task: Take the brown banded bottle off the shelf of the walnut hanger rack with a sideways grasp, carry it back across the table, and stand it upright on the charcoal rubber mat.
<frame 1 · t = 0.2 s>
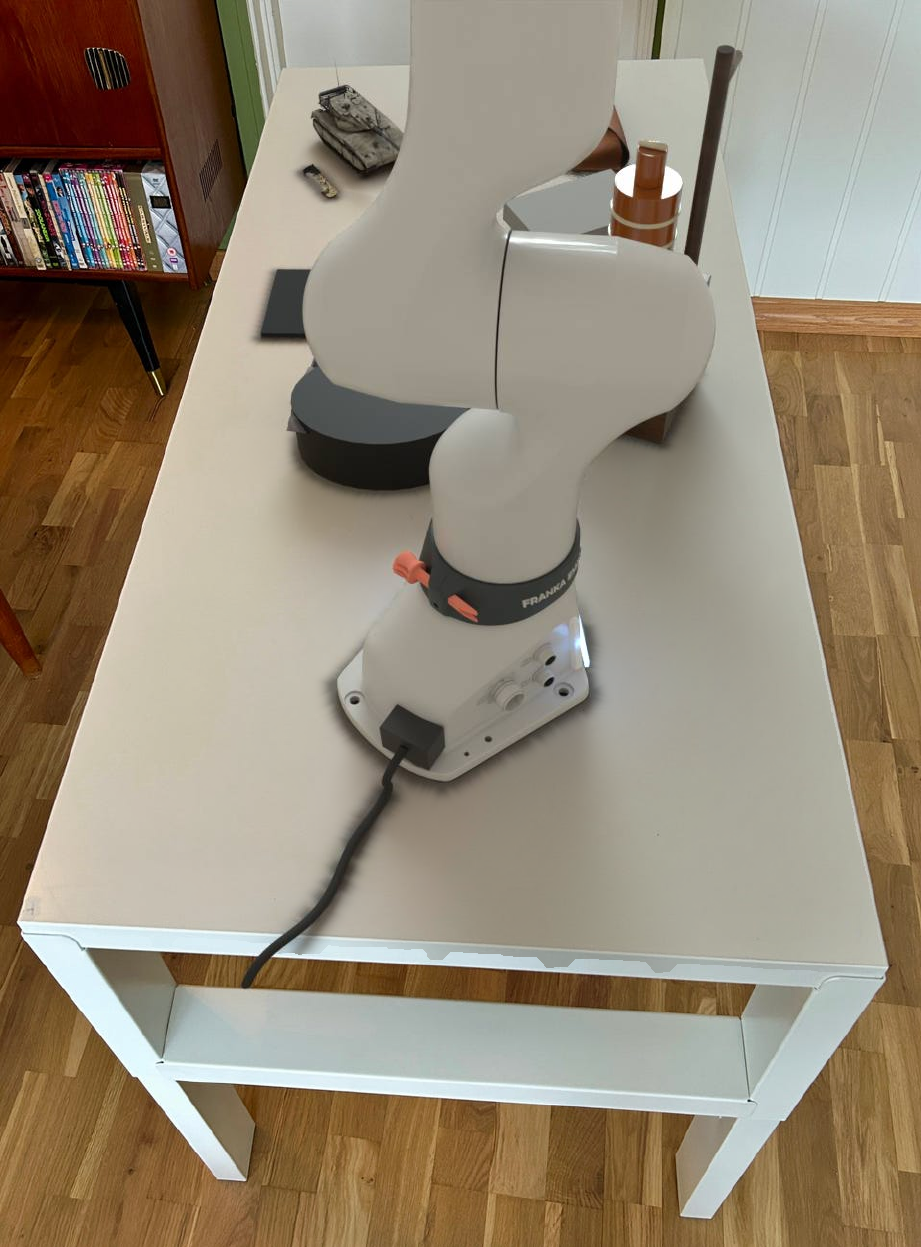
hanger rack: (622, 392, 113), on the table
grey rectangular block: (520, 237, 127), point 2 cm above the table
brown banded bottle: (634, 296, 103), point 12 cm above the table, touching hanger rack
sunglasses case: (586, 137, 144), on the table
rubber mat: (321, 304, 124), on the table
toy tank: (368, 154, 143), on the table
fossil: (300, 185, 139), on the table
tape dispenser: (386, 440, 110), on the table
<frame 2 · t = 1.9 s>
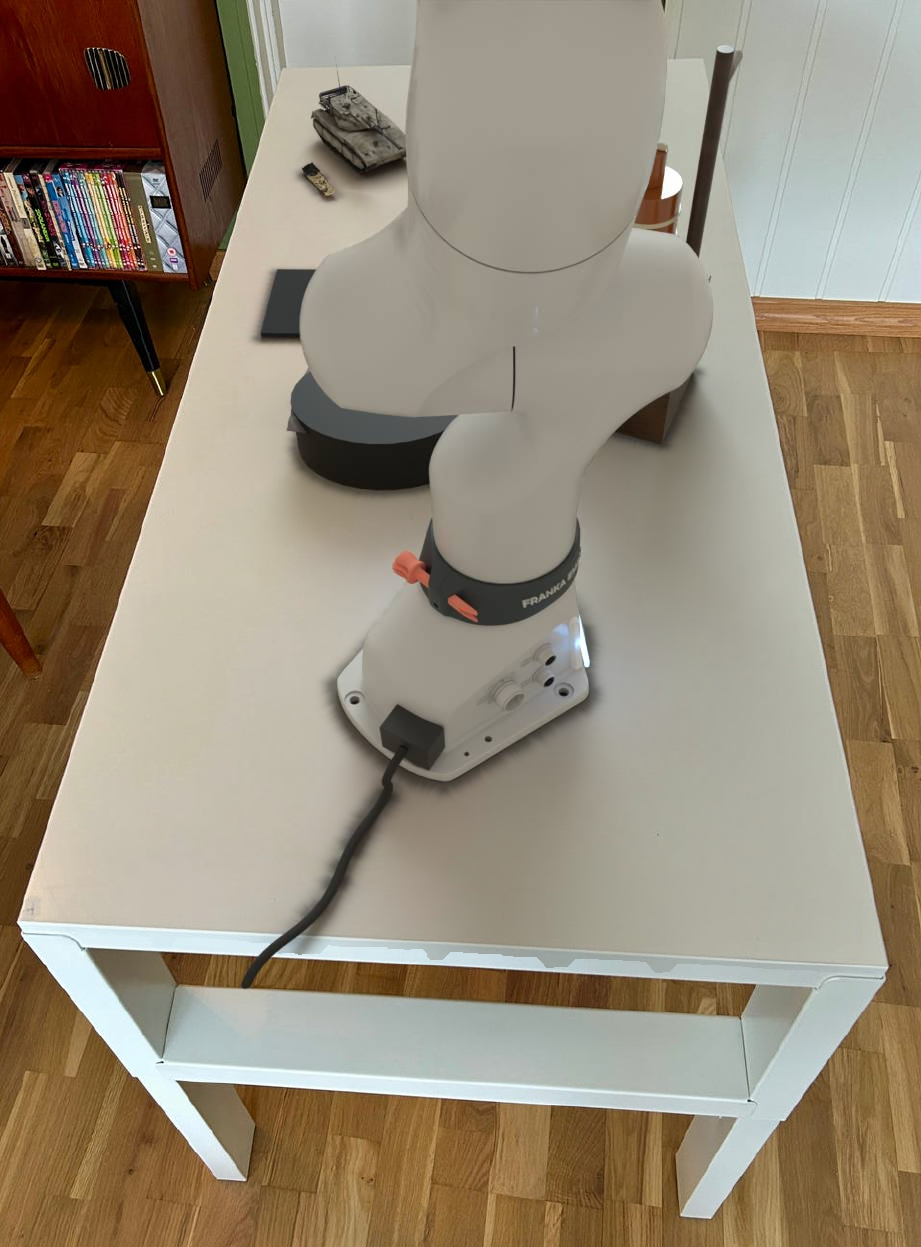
hand: (511, 77, 92), 31 cm above the table, tool pointing down, fingers open, 8 cm apart
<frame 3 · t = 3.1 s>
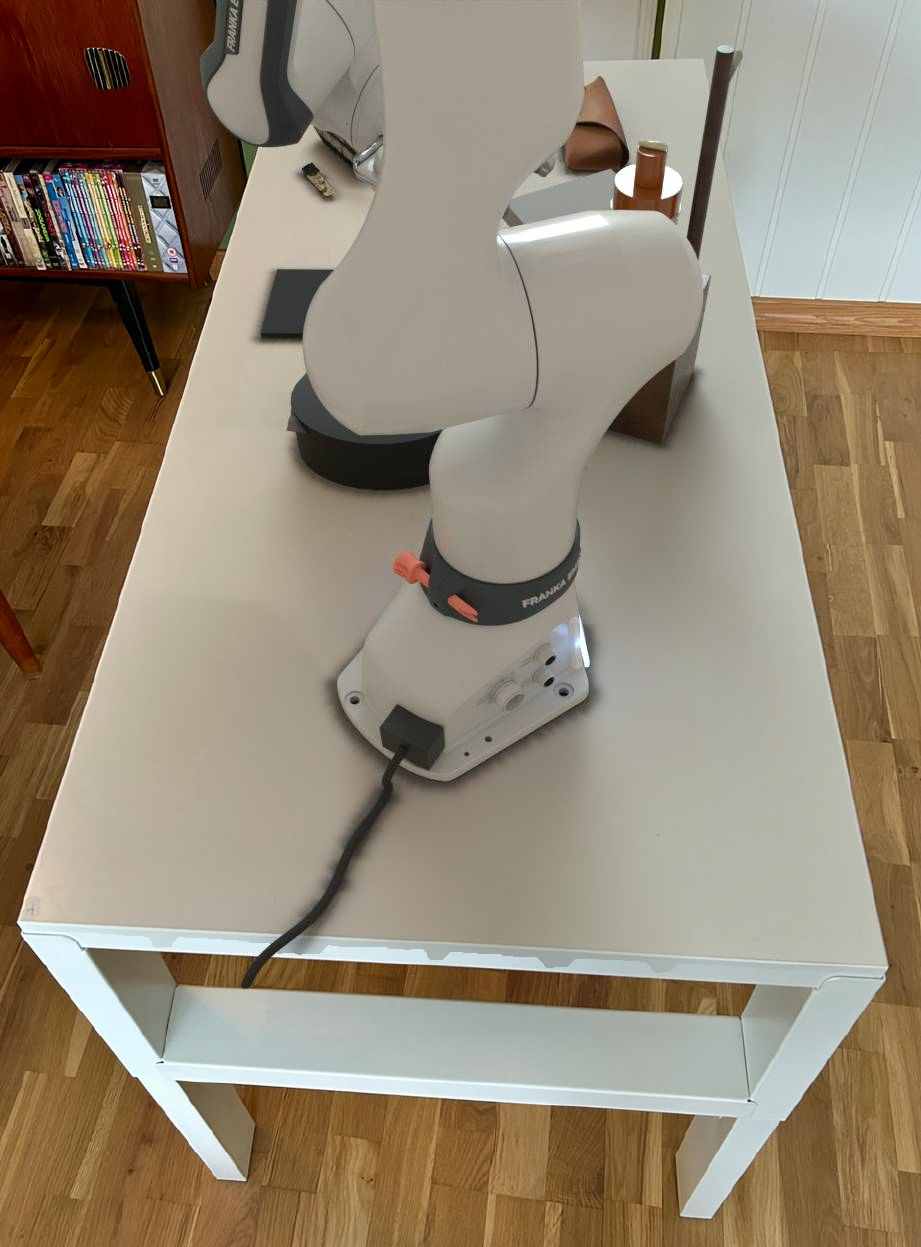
hand: (529, 189, 99), 21 cm above the table, tool horizontal, fingers open, 8 cm apart
nothing on the table moved.
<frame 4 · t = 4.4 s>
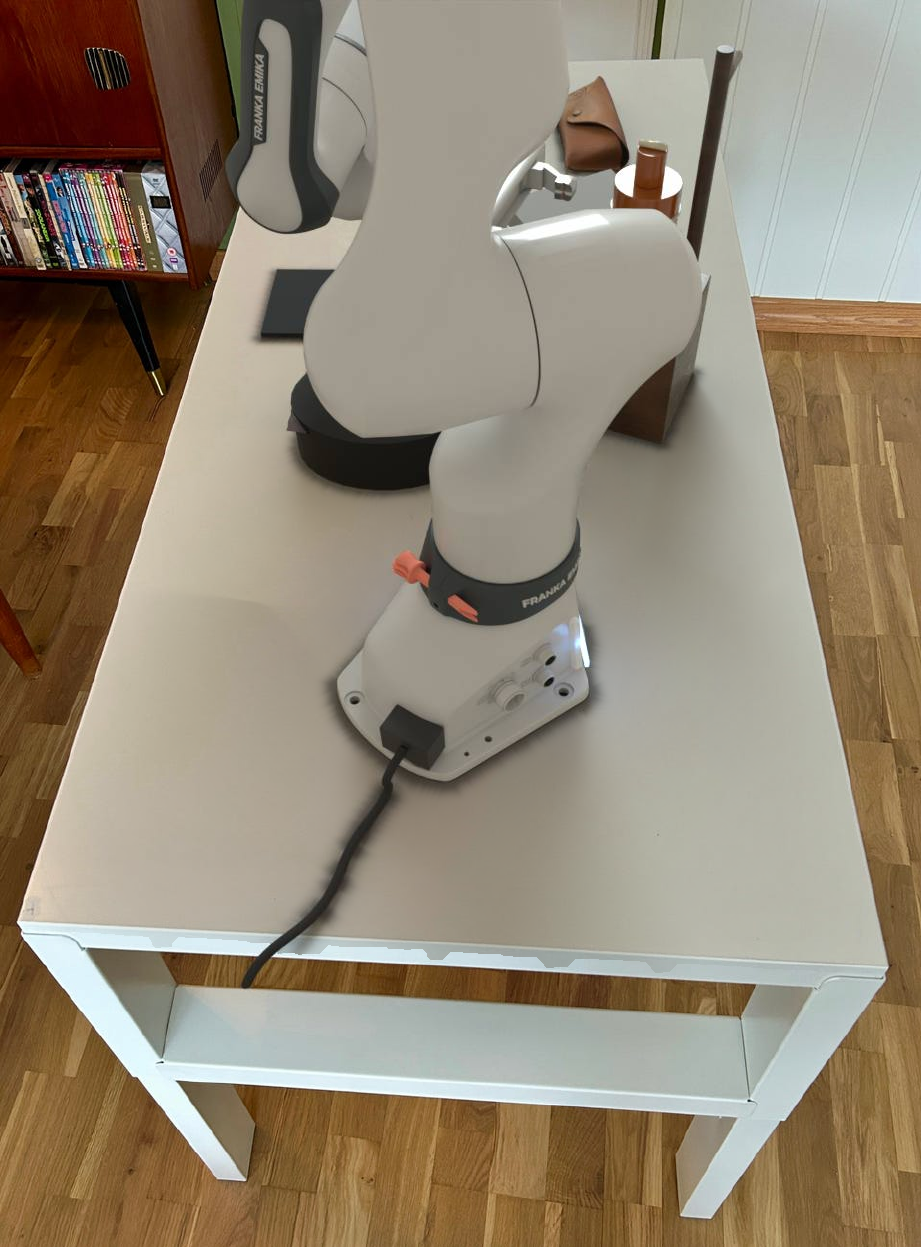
hand: (558, 215, 100), 19 cm above the table, tool horizontal, fingers open, 8 cm apart
nothing on the table moved.
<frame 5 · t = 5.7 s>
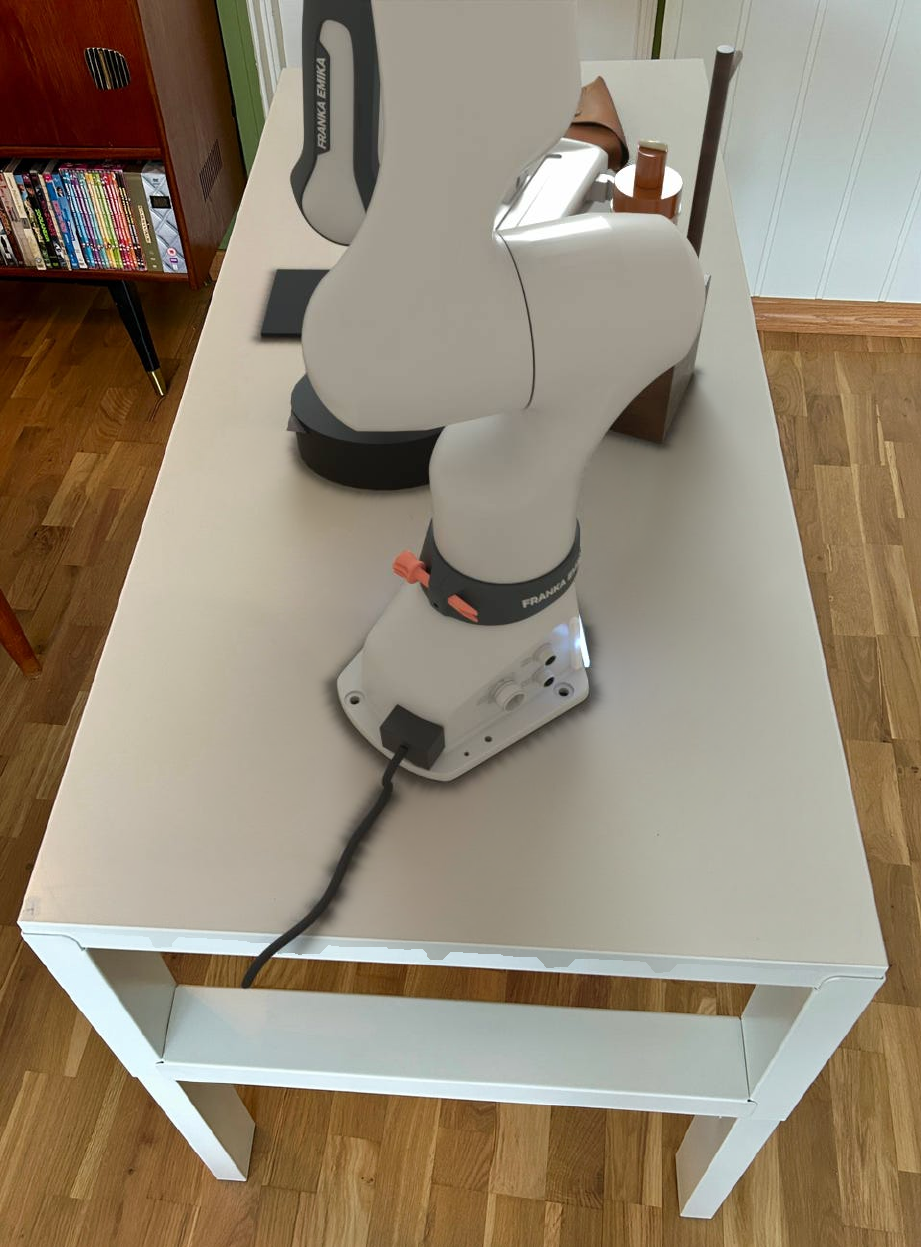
hand: (624, 229, 98), 19 cm above the table, tool horizontal, fingers open, 8 cm apart
nothing on the table moved.
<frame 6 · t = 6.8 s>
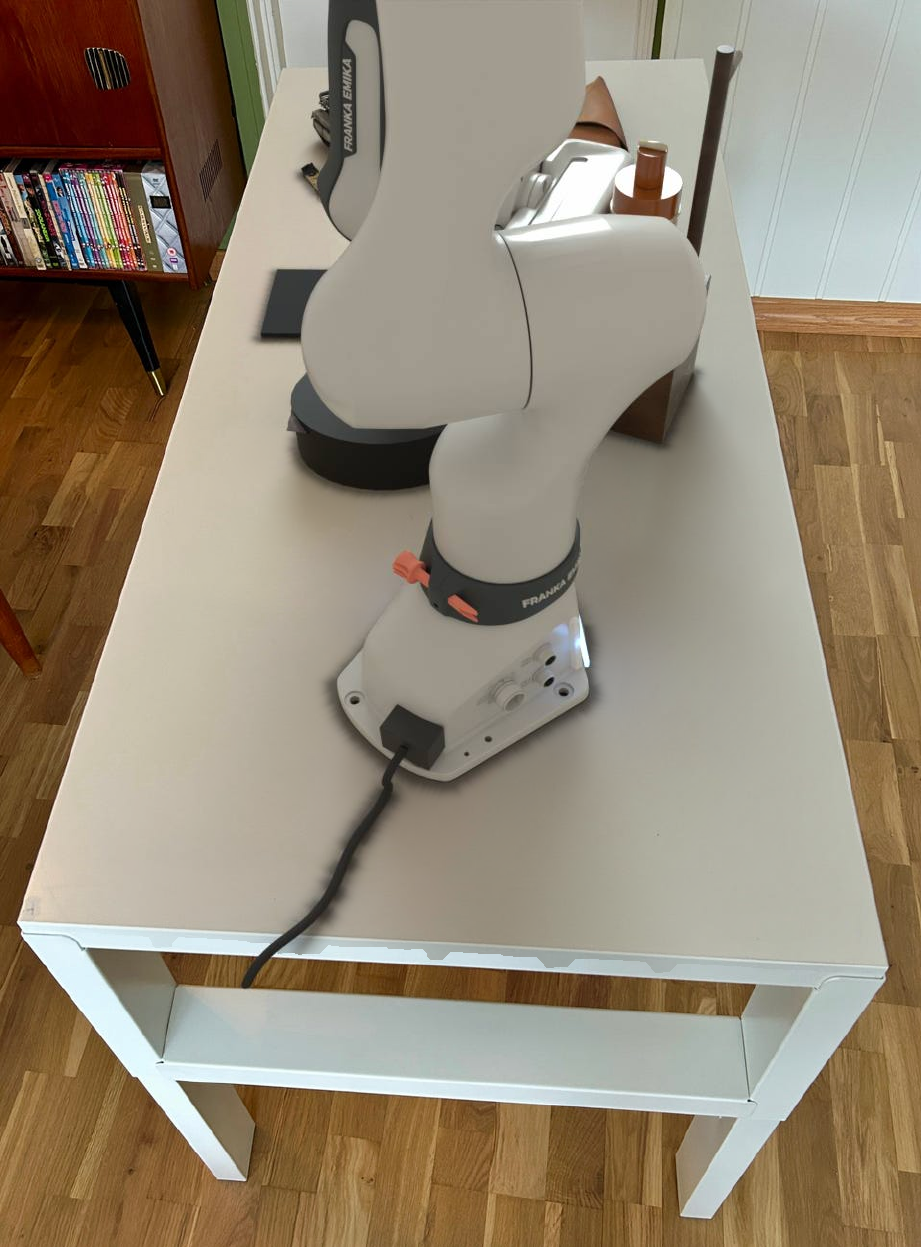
hand: (651, 233, 98), 19 cm above the table, tool horizontal, fingers closed on brown banded bottle, 6 cm apart
brown banded bottle: (634, 296, 103), point 12 cm above the table, touching gripper, hanger rack
everything else where it was.
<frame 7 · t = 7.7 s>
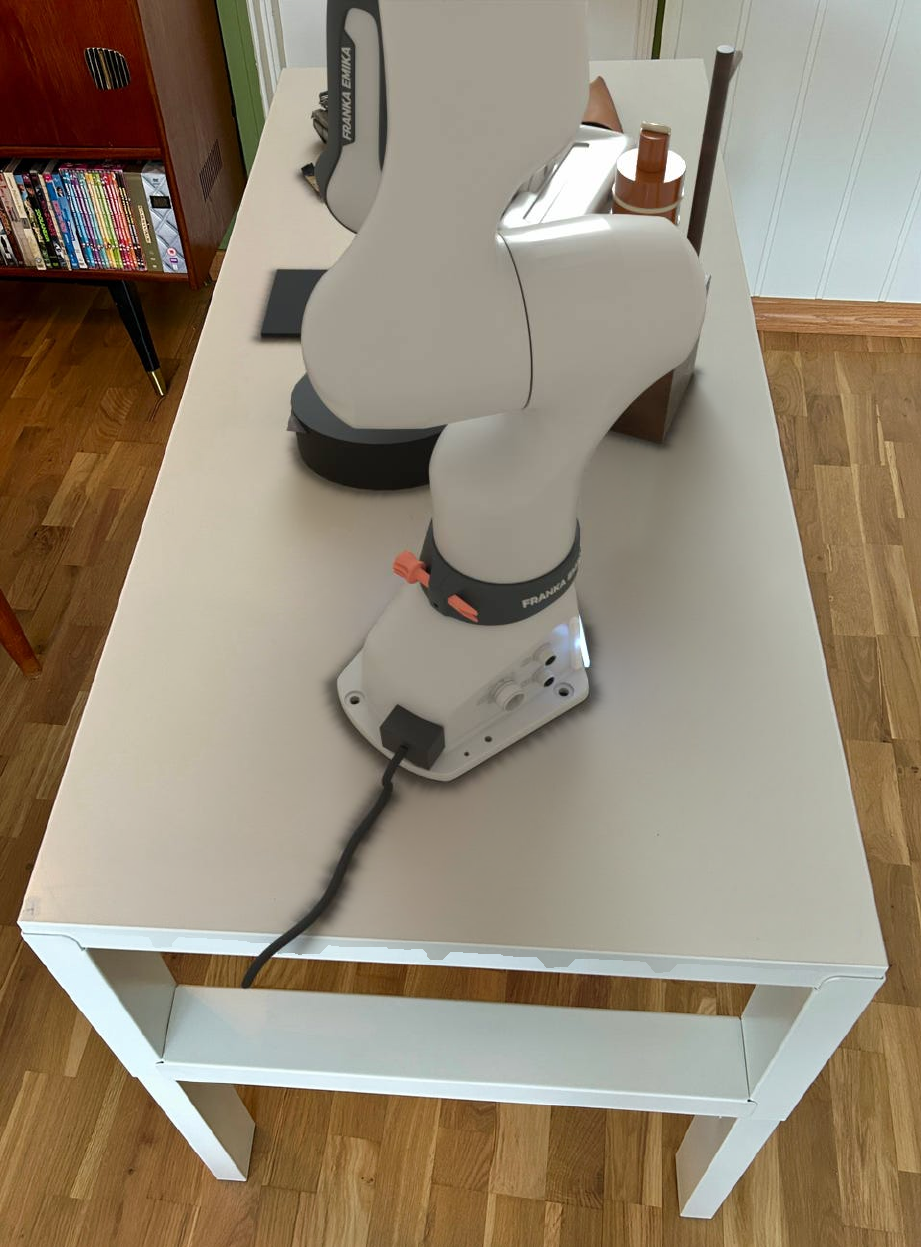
hand: (654, 219, 96), 21 cm above the table, tool horizontal, fingers closed on brown banded bottle, 6 cm apart
brown banded bottle: (636, 284, 102), point 14 cm above the table, touching gripper
everything else where it was.
when the fingers open (8 cm above the table, at t = 20.8 s): brown banded bottle stays where it is, resting on rubber mat.
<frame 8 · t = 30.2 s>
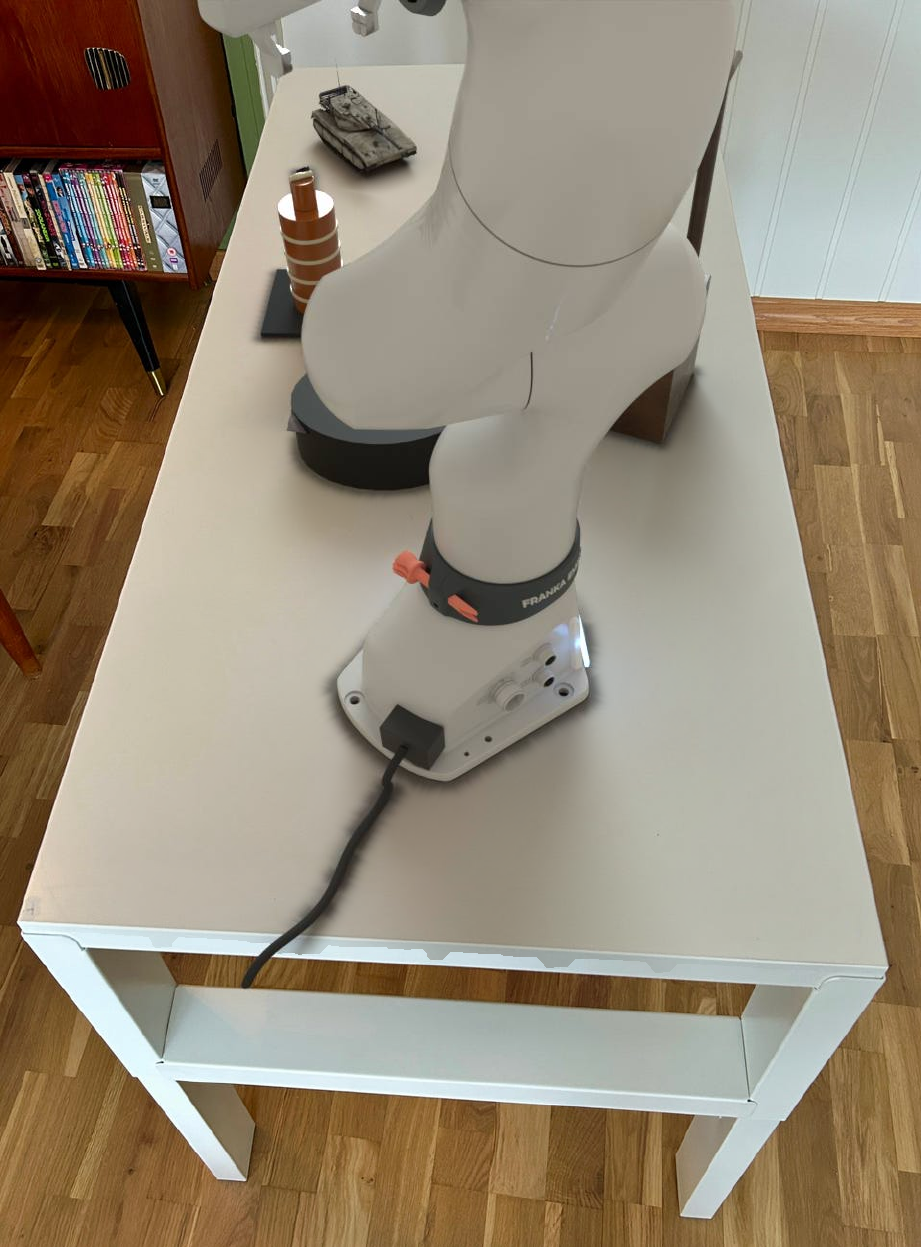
hand: (323, 52, 89), 34 cm above the table, tool pointing down, fingers open, 8 cm apart
brown banded bottle: (320, 300, 123), point 1 cm above the table, touching rubber mat
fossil: (287, 184, 140), on the table
everything else where it was.
at the end: brown banded bottle inside the target area on the rubber mat (0.0 cm from its centre), point 0.6 cm above the rubber mat's base; brown banded bottle tilted 0°; the gripper is holding nothing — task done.
